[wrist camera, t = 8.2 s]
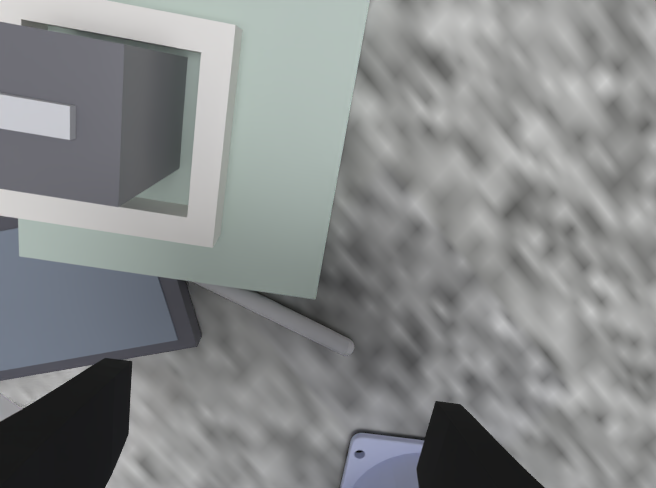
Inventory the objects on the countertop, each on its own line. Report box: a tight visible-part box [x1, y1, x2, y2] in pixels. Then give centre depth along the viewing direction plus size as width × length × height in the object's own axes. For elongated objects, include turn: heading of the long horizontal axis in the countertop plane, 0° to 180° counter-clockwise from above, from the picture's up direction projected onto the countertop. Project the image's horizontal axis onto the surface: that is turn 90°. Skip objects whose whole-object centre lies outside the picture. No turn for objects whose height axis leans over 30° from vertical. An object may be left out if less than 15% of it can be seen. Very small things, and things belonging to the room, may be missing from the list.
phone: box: [0, 216, 202, 381], centre depth 20 cm, size 7×13×1 cm, turn 100°
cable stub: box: [191, 281, 354, 356], centre depth 21 cm, size 9×1×1 cm, turn 60°
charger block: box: [0, 22, 188, 207], centre depth 14 cm, size 4×4×6 cm
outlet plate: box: [0, 0, 370, 299], centre depth 17 cm, size 16×12×3 cm
